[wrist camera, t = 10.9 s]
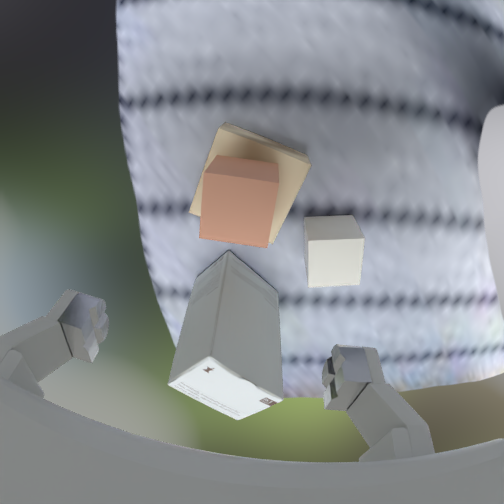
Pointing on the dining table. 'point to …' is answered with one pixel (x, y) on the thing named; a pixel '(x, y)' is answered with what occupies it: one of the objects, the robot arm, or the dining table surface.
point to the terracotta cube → (238, 200)
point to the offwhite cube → (333, 250)
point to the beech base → (261, 149)
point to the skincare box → (230, 341)
